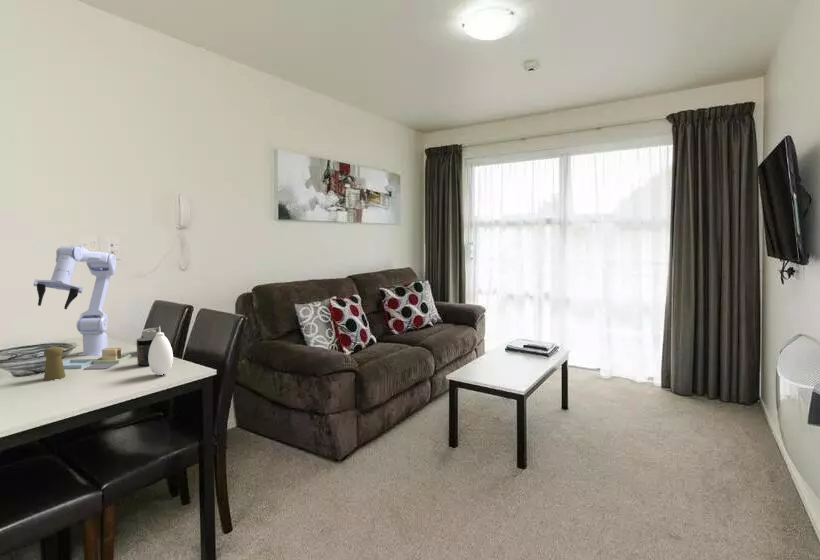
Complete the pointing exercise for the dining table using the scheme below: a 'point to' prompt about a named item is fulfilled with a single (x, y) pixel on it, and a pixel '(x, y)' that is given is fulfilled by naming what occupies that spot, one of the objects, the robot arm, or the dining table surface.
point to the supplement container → (143, 351)
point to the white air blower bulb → (160, 354)
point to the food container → (150, 332)
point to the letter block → (112, 353)
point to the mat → (100, 366)
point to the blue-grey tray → (77, 363)
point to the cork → (53, 363)
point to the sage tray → (100, 361)
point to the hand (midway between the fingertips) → (52, 306)
